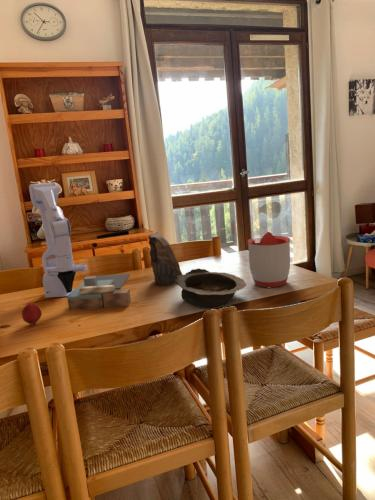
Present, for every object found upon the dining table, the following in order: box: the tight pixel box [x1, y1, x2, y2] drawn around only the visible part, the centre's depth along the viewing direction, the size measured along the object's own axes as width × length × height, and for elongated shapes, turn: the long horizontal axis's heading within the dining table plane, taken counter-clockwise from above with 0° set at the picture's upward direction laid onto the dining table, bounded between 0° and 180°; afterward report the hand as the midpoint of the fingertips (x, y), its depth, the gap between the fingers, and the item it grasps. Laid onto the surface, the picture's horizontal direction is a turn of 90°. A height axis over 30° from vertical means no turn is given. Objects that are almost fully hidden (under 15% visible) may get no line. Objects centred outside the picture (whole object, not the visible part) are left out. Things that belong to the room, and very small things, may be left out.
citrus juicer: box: [247, 231, 291, 288], centre depth 148 cm, size 16×17×20 cm
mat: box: [96, 273, 131, 290], centre depth 168 cm, size 15×20×1 cm
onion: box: [21, 300, 42, 325], centre depth 127 cm, size 6×6×8 cm
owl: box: [147, 231, 184, 288], centre depth 160 cm, size 13×13×20 cm
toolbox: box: [67, 282, 132, 311], centre depth 145 cm, size 21×18×5 cm
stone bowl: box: [174, 268, 247, 309], centre depth 136 cm, size 25×25×9 cm
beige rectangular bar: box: [79, 285, 116, 294], centre depth 139 cm, size 12×2×2 cm, turn 87°
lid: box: [66, 275, 114, 301], centre depth 145 cm, size 12×18×5 cm, turn 177°
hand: (69, 291), depth 140 cm, fingers closed
